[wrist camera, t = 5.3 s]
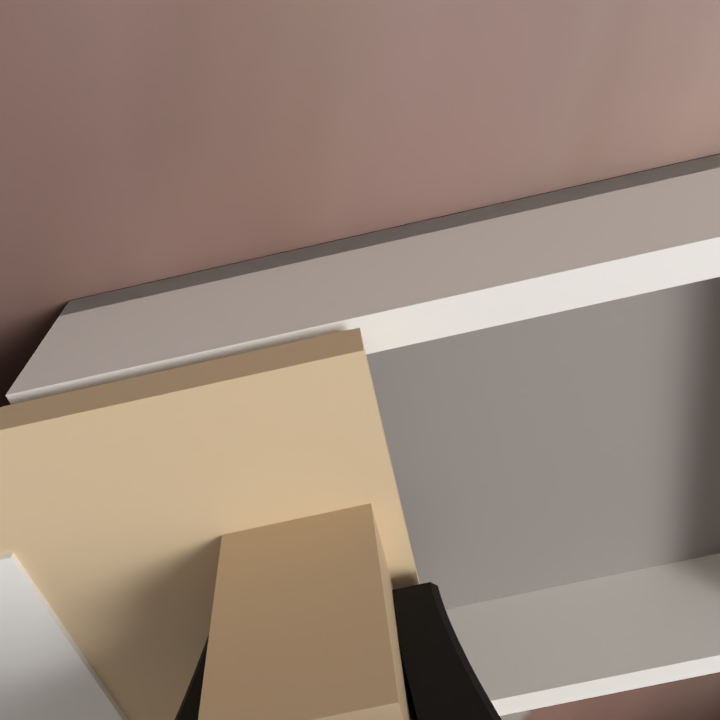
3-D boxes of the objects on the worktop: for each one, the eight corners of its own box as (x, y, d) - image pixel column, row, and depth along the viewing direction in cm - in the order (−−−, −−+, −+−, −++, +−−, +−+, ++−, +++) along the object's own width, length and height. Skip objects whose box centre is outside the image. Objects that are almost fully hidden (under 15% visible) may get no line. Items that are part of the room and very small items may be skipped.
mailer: (805, 134, 11) (956, 184, 9) (747, 542, 16) (831, 650, 14) (69, 301, 12) (4, 395, 9) (236, 647, 17) (226, 770, 14)
